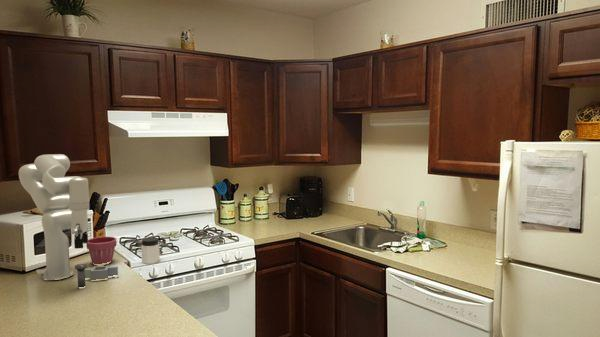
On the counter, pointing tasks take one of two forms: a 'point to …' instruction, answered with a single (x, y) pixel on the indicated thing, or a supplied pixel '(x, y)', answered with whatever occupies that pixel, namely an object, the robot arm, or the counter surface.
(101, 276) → the hinge
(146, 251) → the jar
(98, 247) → the plant pot
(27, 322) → the counter surface
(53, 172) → the robot arm
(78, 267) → the hinge pin
